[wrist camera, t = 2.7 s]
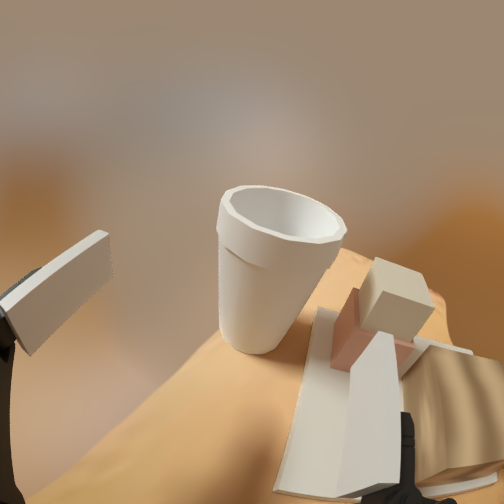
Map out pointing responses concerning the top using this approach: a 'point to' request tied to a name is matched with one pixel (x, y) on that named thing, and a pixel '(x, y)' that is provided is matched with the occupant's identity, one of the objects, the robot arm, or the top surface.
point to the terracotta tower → (381, 313)
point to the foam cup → (270, 261)
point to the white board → (336, 422)
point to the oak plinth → (455, 416)
